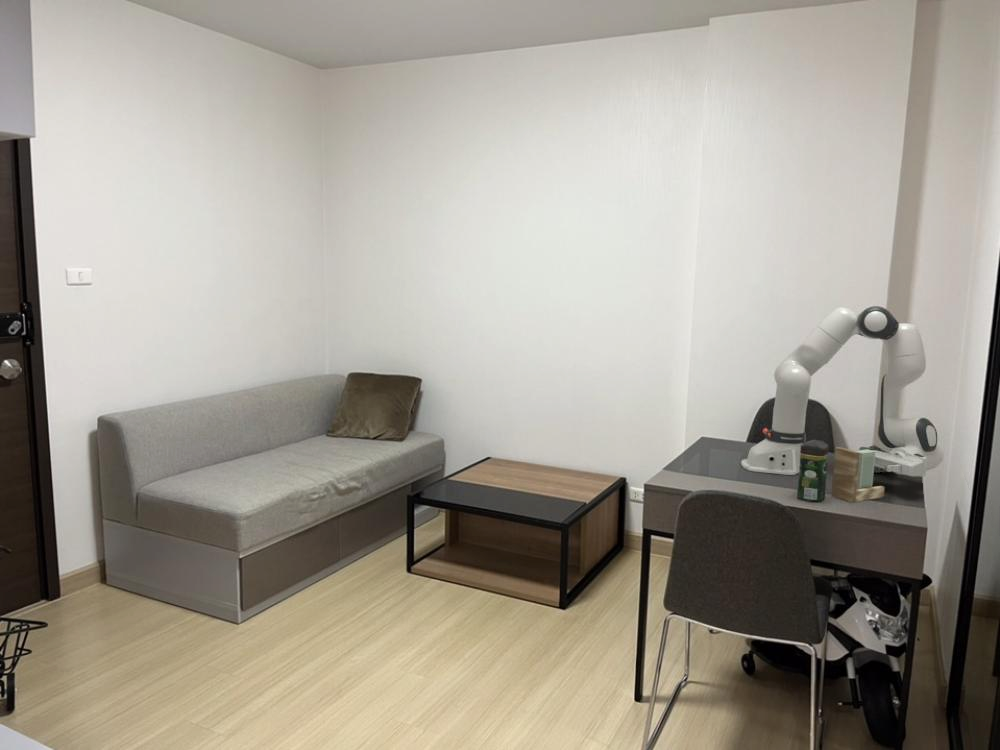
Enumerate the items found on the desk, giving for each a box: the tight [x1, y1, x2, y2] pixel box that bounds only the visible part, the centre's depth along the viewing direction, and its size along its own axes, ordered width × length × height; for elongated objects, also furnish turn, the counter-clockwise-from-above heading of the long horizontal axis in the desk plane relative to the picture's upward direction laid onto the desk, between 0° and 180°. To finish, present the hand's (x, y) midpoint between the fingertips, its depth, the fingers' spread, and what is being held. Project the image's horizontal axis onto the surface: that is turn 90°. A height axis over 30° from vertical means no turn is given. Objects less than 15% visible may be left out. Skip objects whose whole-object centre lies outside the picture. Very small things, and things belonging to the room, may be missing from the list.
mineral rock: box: [858, 444, 889, 474], centre depth 274 cm, size 13×11×10 cm
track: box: [831, 446, 886, 503], centre depth 245 cm, size 15×8×16 cm, turn 115°
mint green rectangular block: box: [855, 449, 875, 490], centre depth 246 cm, size 6×3×14 cm, turn 115°
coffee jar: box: [796, 439, 829, 502], centre depth 242 cm, size 10×8×19 cm
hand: (873, 464), depth 247 cm, fingers open, 8 cm apart
